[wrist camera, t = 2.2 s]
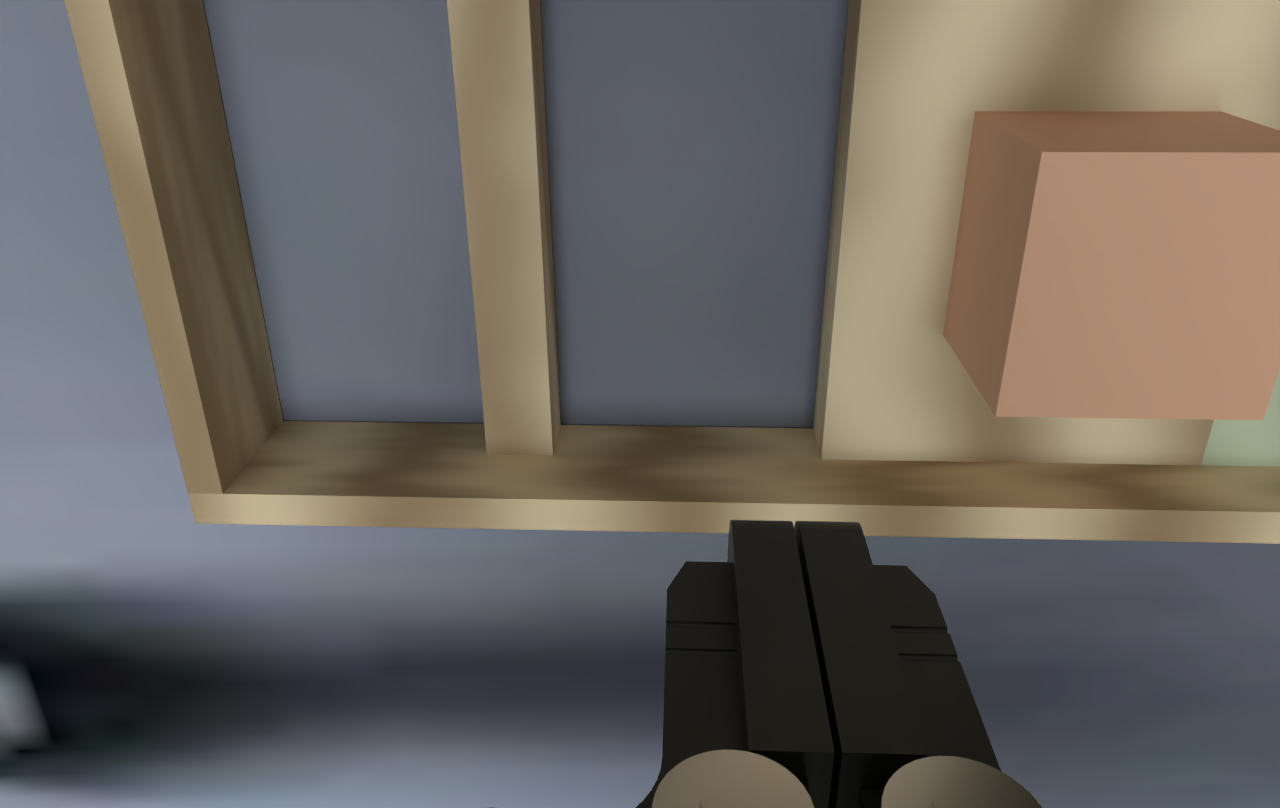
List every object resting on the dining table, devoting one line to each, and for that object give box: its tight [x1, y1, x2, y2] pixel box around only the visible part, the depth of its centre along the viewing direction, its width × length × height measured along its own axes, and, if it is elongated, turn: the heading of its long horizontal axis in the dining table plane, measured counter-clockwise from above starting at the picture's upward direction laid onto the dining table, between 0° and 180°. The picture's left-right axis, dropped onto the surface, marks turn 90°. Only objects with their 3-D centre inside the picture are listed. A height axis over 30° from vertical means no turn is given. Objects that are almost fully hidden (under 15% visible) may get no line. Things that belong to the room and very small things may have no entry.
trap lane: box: [64, 0, 1280, 544], centre depth 25 cm, size 40×16×4 cm, turn 90°
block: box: [943, 111, 1280, 420], centre depth 23 cm, size 6×6×5 cm
